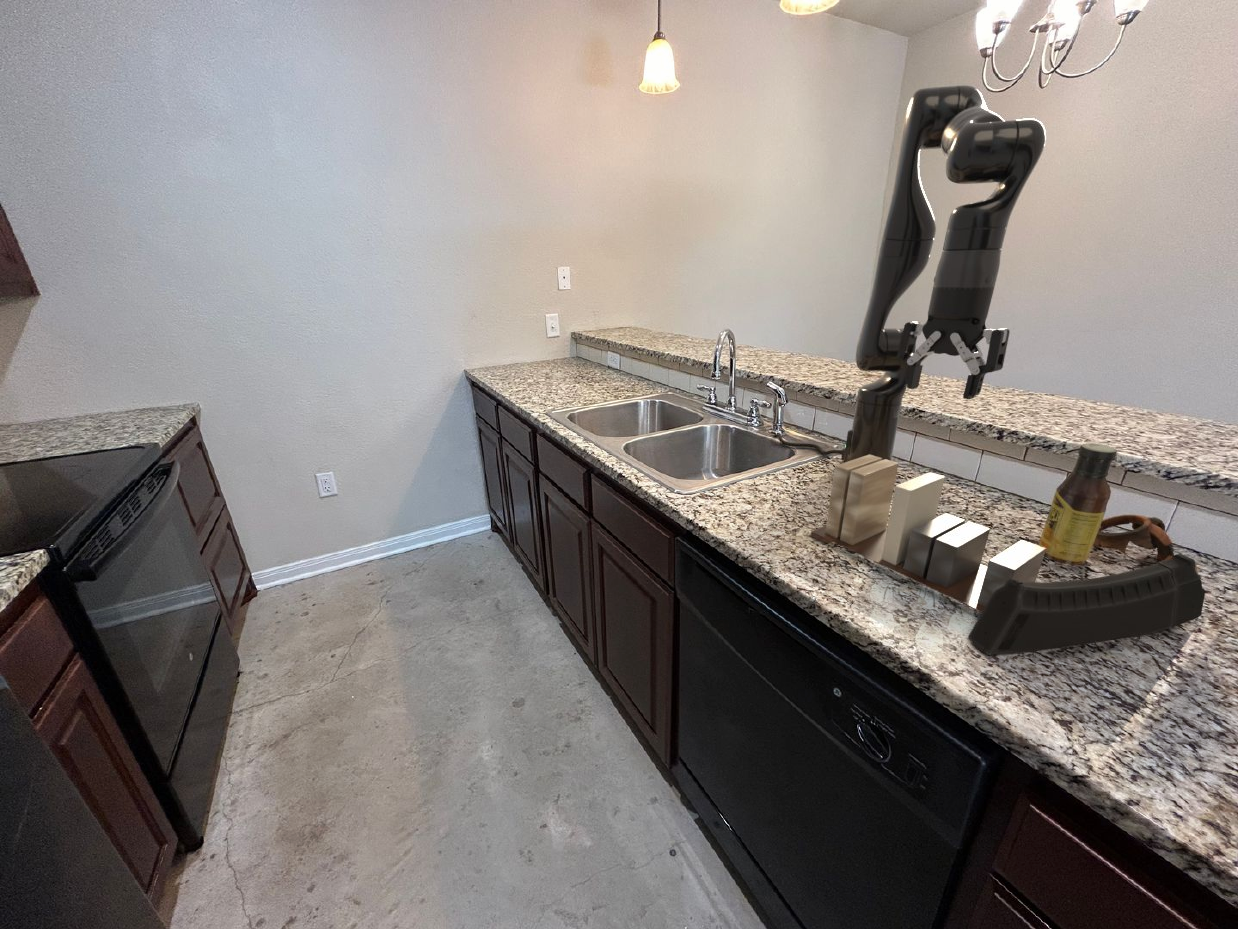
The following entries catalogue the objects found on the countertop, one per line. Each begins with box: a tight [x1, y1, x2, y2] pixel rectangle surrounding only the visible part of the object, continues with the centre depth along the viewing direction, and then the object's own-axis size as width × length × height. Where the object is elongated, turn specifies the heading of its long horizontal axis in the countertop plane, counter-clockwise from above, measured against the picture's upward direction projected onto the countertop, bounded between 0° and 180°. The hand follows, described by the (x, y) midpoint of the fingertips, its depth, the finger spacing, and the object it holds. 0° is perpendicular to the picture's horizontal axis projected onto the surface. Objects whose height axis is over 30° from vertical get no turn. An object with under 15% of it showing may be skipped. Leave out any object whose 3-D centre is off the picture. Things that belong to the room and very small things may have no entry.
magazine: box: [967, 553, 1206, 656], centre depth 62 cm, size 17×3×30 cm
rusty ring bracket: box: [1092, 514, 1175, 561], centre depth 82 cm, size 12×10×8 cm
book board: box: [810, 455, 1046, 613], centre depth 79 cm, size 31×13×14 cm, turn 32°
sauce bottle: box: [1038, 442, 1118, 566], centre depth 78 cm, size 6×6×20 cm
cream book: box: [881, 471, 946, 565], centre depth 80 cm, size 2×10×13 cm, turn 123°
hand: (939, 392), depth 78 cm, fingers open, 8 cm apart
